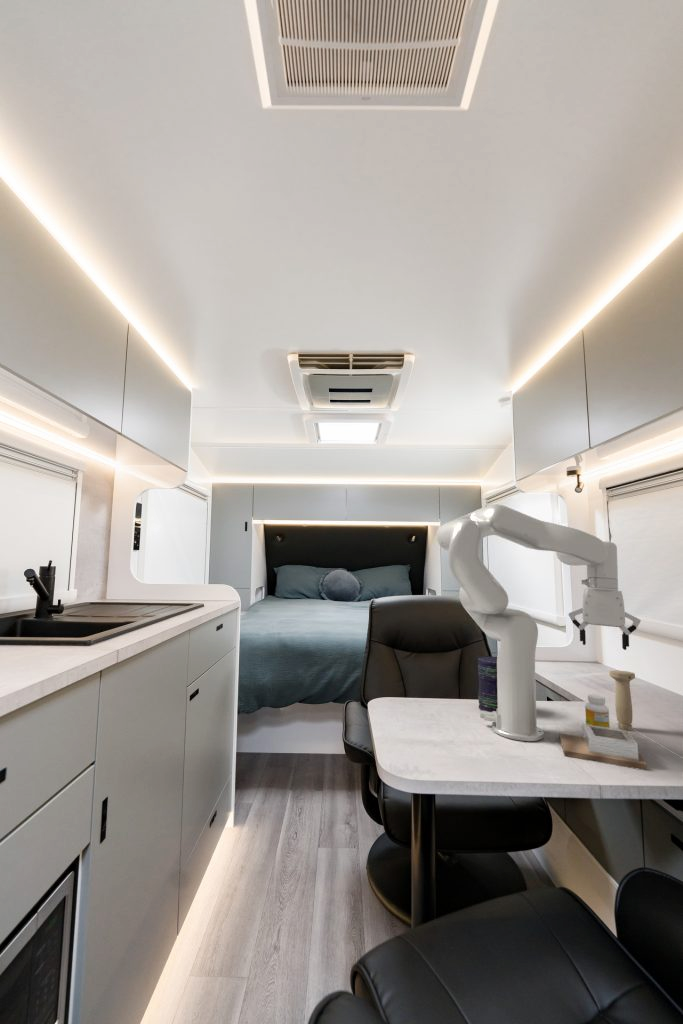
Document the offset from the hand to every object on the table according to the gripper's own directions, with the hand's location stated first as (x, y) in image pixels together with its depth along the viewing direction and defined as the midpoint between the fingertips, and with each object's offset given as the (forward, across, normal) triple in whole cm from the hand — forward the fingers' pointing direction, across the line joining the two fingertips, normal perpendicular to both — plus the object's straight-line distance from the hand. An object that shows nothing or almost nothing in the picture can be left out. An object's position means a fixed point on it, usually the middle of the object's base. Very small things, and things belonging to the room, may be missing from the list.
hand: (603, 646), depth 119 cm
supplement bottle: (+23, -2, -4) cm, 23 cm away
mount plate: (+23, -2, -19) cm, 29 cm away
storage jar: (+23, -29, +1) cm, 37 cm away
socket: (+21, 0, -18) cm, 28 cm away
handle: (+22, +5, +5) cm, 23 cm away
